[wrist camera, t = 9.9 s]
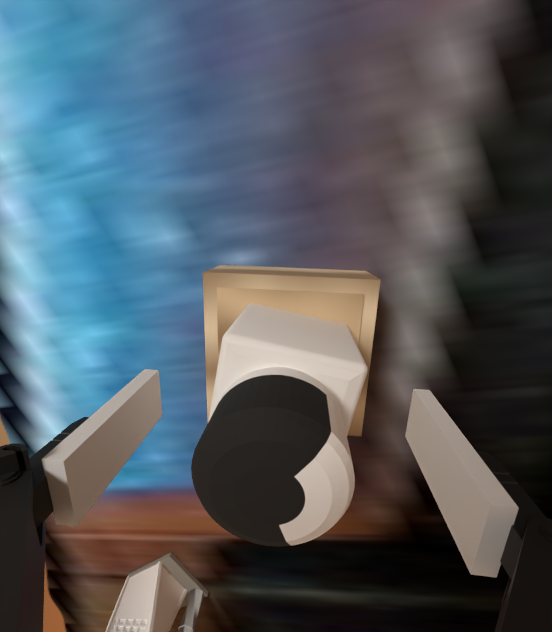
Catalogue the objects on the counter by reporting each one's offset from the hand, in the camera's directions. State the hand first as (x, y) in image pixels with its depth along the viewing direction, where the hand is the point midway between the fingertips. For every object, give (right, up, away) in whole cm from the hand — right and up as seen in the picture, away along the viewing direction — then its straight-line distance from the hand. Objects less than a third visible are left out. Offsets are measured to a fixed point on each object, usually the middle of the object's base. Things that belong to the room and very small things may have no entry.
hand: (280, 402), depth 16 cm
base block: (+1, +3, +11) cm, 12 cm away
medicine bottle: (+1, +1, +6) cm, 7 cm away
